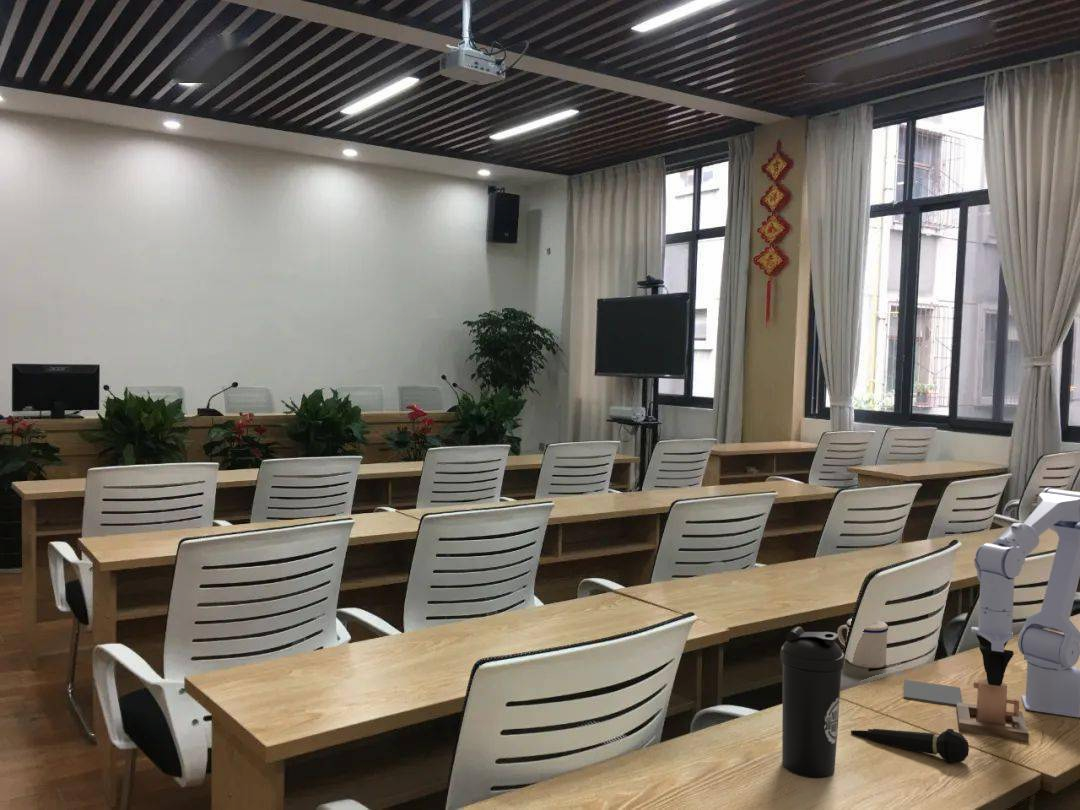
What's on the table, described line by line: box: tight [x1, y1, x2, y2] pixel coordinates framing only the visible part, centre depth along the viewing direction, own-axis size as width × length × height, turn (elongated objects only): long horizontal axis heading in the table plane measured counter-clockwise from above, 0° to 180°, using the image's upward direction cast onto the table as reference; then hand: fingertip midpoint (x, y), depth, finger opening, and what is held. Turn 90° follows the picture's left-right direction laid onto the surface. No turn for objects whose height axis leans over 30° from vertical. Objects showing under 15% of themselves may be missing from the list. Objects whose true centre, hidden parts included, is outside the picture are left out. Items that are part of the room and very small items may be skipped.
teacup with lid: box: [837, 617, 889, 669], centre depth 207 cm, size 12×9×12 cm
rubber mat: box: [903, 679, 963, 707], centre depth 187 cm, size 11×11×1 cm
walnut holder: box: [955, 702, 1030, 742], centre depth 171 cm, size 12×12×2 cm
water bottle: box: [780, 626, 845, 779], centre depth 151 cm, size 10×10×23 cm
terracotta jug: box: [972, 678, 1020, 726], centre depth 170 cm, size 8×5×8 cm, turn 67°
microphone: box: [850, 728, 970, 765], centre depth 159 cm, size 6×6×20 cm
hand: (992, 678), depth 170 cm, fingers open, 7 cm apart
